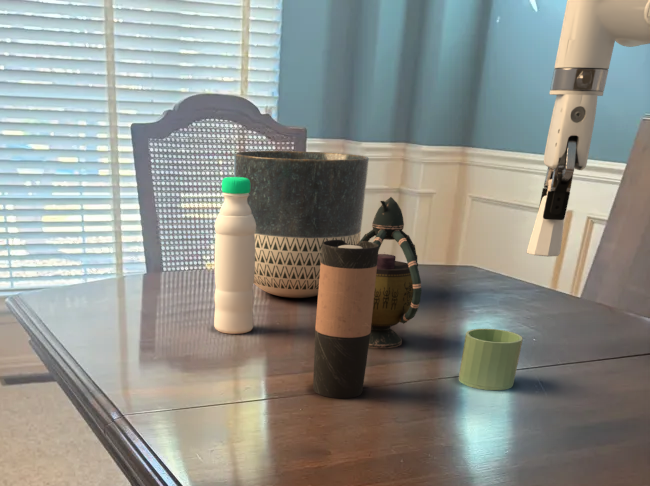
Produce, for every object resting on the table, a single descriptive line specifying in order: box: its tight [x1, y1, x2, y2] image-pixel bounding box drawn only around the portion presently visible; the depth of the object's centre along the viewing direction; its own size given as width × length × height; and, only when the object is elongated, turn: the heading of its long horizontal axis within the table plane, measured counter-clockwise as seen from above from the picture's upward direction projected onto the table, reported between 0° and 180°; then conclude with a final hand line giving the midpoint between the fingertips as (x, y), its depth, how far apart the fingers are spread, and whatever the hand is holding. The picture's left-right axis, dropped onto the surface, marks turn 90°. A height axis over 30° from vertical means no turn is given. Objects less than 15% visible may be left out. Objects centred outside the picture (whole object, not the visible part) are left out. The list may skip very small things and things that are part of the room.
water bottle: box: [213, 176, 256, 335], centre depth 133 cm, size 7×7×25 cm
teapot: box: [357, 196, 422, 349], centre depth 132 cm, size 12×25×23 cm, turn 179°
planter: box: [233, 150, 369, 299], centre depth 159 cm, size 27×27×27 cm
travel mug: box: [312, 240, 380, 399], centre depth 106 cm, size 8×8×20 cm
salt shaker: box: [526, 179, 565, 257], centre depth 123 cm, size 5×5×11 cm
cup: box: [458, 328, 524, 391], centre depth 115 cm, size 8×8×7 cm
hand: (550, 216), depth 123 cm, fingers closed on salt shaker, 4 cm apart
